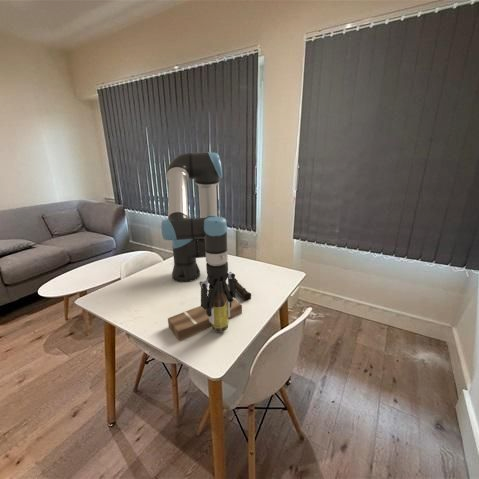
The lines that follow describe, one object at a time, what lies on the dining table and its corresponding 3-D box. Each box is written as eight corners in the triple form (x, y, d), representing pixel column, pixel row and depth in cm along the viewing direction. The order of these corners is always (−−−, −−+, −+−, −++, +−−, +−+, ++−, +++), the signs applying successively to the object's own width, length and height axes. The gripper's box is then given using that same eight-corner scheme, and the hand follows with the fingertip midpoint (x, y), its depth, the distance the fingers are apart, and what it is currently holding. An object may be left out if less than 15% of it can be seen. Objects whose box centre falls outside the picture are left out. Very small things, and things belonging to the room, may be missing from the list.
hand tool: (251, 300, 120) (251, 291, 118) (243, 302, 118) (243, 293, 117) (235, 282, 136) (235, 274, 135) (228, 284, 135) (228, 276, 133)
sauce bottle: (231, 330, 98) (229, 282, 91) (215, 335, 95) (212, 286, 89) (224, 320, 103) (222, 275, 97) (209, 325, 100) (206, 278, 94)
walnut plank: (168, 327, 101) (167, 318, 100) (228, 303, 117) (228, 295, 116) (179, 341, 94) (178, 331, 92) (242, 313, 109) (241, 304, 108)
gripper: (197, 273, 82) (201, 334, 89) (245, 258, 93) (246, 314, 100) (186, 265, 88) (191, 323, 95) (233, 252, 99) (234, 305, 106)
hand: (219, 318), depth 98 cm, fingers closed on sauce bottle, 6 cm apart
